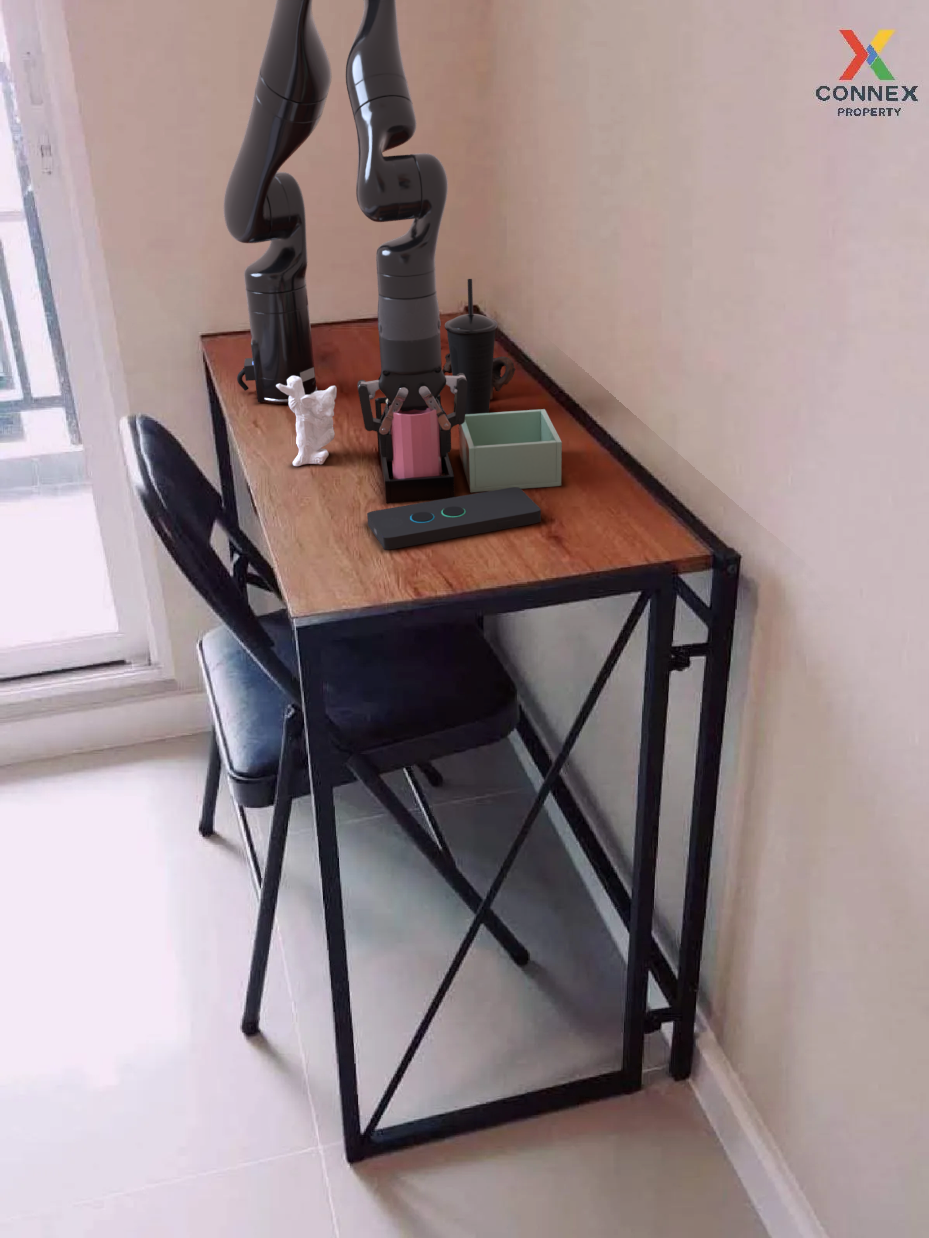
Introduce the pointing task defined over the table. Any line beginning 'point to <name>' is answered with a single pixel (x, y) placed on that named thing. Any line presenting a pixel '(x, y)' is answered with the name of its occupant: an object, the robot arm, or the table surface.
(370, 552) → the table surface
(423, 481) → the rack
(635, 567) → the table surface
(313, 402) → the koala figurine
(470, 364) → the drinking cup
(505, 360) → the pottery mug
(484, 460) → the open storage box
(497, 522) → the smart home device
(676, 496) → the table surface
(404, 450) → the rose cup
